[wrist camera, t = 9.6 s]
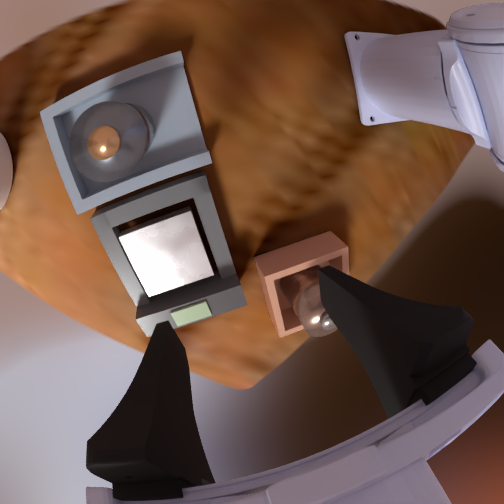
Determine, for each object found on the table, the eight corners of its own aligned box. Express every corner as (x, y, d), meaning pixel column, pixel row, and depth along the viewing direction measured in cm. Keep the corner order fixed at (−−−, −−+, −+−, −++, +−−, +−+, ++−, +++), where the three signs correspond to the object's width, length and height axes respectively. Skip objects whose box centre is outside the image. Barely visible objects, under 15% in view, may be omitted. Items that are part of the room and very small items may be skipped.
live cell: (145, 94, 15) (131, 87, 10) (161, 150, 17) (155, 167, 12) (90, 117, 15) (55, 122, 10) (107, 171, 17) (81, 197, 12)
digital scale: (95, 211, 18) (83, 228, 15) (203, 170, 19) (208, 181, 16) (148, 313, 23) (147, 338, 21) (238, 283, 24) (247, 306, 21)
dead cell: (320, 253, 24) (357, 293, 19) (321, 289, 26) (352, 330, 21) (277, 266, 24) (307, 311, 19) (281, 302, 26) (308, 348, 21)
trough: (180, 56, 15) (180, 50, 13) (209, 158, 19) (212, 163, 17) (51, 111, 14) (39, 112, 12) (85, 205, 18) (77, 215, 16)
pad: (120, 231, 18) (118, 237, 17) (190, 205, 19) (190, 211, 18) (149, 289, 21) (148, 296, 20) (212, 267, 21) (214, 275, 21)
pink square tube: (330, 230, 24) (348, 246, 21) (335, 291, 28) (349, 309, 25) (253, 256, 23) (264, 276, 21) (269, 316, 27) (280, 337, 24)
